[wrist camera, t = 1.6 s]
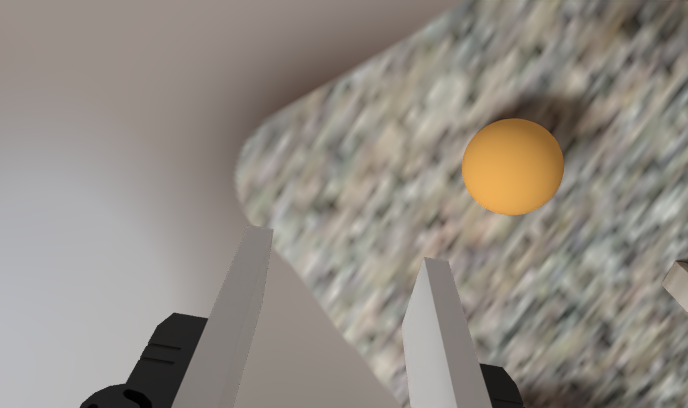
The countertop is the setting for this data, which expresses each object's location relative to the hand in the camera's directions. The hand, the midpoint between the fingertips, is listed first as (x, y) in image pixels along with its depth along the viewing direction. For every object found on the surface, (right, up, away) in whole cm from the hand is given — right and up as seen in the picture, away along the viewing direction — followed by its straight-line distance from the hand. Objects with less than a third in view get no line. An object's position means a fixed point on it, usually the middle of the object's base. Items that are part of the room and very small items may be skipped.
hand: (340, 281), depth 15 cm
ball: (+10, +4, +13) cm, 17 cm away
